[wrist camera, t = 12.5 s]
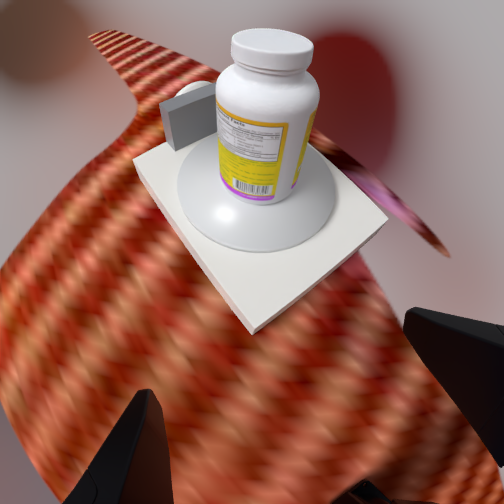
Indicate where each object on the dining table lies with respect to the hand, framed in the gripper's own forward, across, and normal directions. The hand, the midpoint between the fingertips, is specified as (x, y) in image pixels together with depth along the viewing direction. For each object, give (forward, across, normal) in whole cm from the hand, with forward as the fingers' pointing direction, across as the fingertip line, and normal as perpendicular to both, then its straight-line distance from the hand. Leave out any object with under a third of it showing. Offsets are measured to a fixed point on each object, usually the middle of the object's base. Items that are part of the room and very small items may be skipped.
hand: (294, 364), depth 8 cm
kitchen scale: (+20, -4, -1) cm, 21 cm away
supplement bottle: (+18, -4, -4) cm, 19 cm away
